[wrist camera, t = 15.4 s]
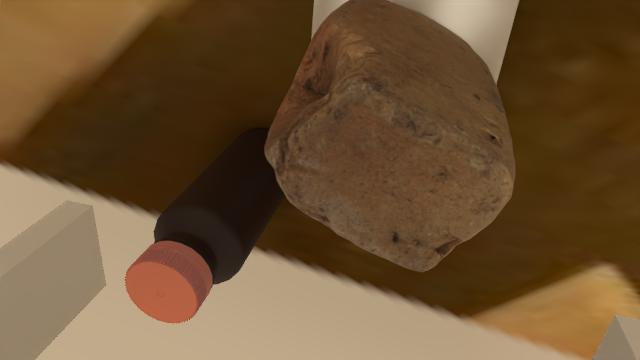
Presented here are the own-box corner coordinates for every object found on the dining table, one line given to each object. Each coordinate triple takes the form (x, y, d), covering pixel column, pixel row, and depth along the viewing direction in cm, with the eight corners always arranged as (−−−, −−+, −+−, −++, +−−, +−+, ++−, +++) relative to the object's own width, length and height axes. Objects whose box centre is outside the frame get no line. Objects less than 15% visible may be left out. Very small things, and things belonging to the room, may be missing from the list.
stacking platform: (315, 117, 43) (304, 133, 39) (329, -54, 36) (318, -53, 33) (472, 142, 41) (475, 161, 37) (518, -35, 34) (527, -31, 30)
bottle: (283, 118, 43) (179, 237, 26) (309, 181, 46) (230, 329, 29) (222, 137, 46) (90, 258, 29) (250, 196, 48) (144, 341, 31)
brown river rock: (496, 57, 33) (557, 188, 16) (432, 138, 37) (425, 315, 20) (368, -28, 33) (286, 11, 15) (316, 62, 36) (203, 177, 19)
